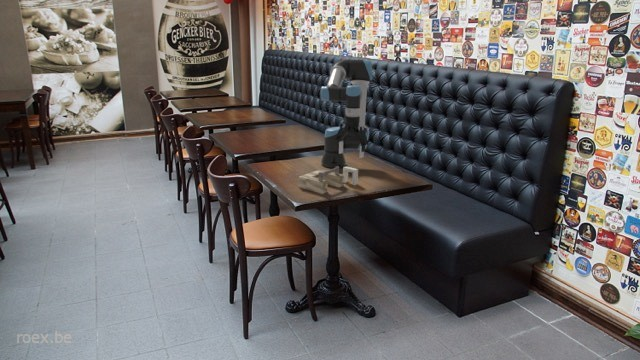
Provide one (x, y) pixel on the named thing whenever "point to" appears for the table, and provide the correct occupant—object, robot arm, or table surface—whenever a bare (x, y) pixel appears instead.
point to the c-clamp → (321, 180)
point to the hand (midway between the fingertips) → (351, 155)
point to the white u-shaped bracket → (354, 177)
